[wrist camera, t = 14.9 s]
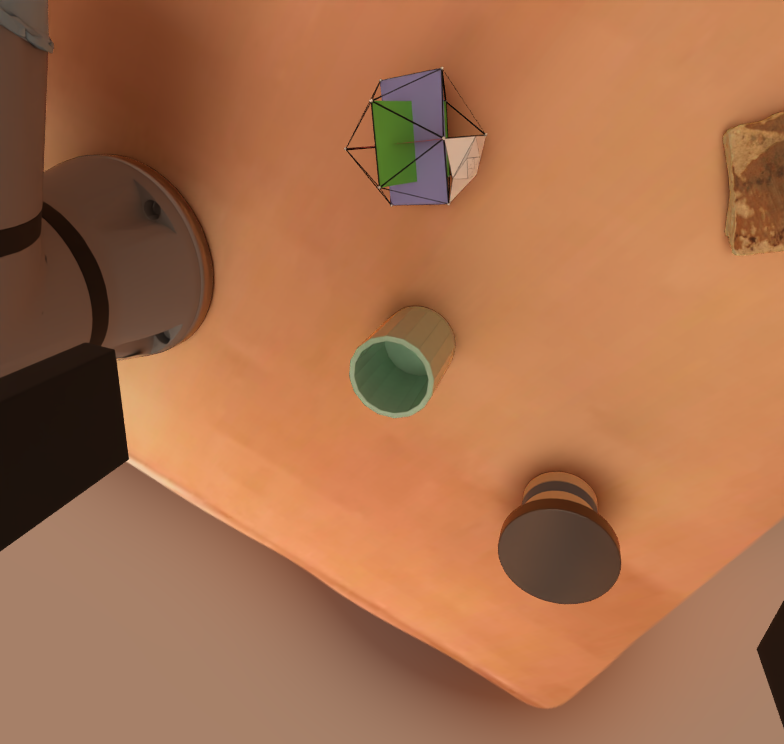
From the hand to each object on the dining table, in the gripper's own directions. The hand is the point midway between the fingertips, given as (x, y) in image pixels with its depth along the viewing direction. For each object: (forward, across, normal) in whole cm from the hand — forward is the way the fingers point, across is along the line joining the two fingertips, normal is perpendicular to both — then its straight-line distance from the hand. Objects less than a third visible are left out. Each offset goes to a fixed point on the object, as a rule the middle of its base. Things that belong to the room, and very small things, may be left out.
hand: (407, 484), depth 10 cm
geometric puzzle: (+27, -7, +5) cm, 28 cm away
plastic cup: (+27, -6, -8) cm, 29 cm away
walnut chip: (+22, +6, -18) cm, 29 cm away
